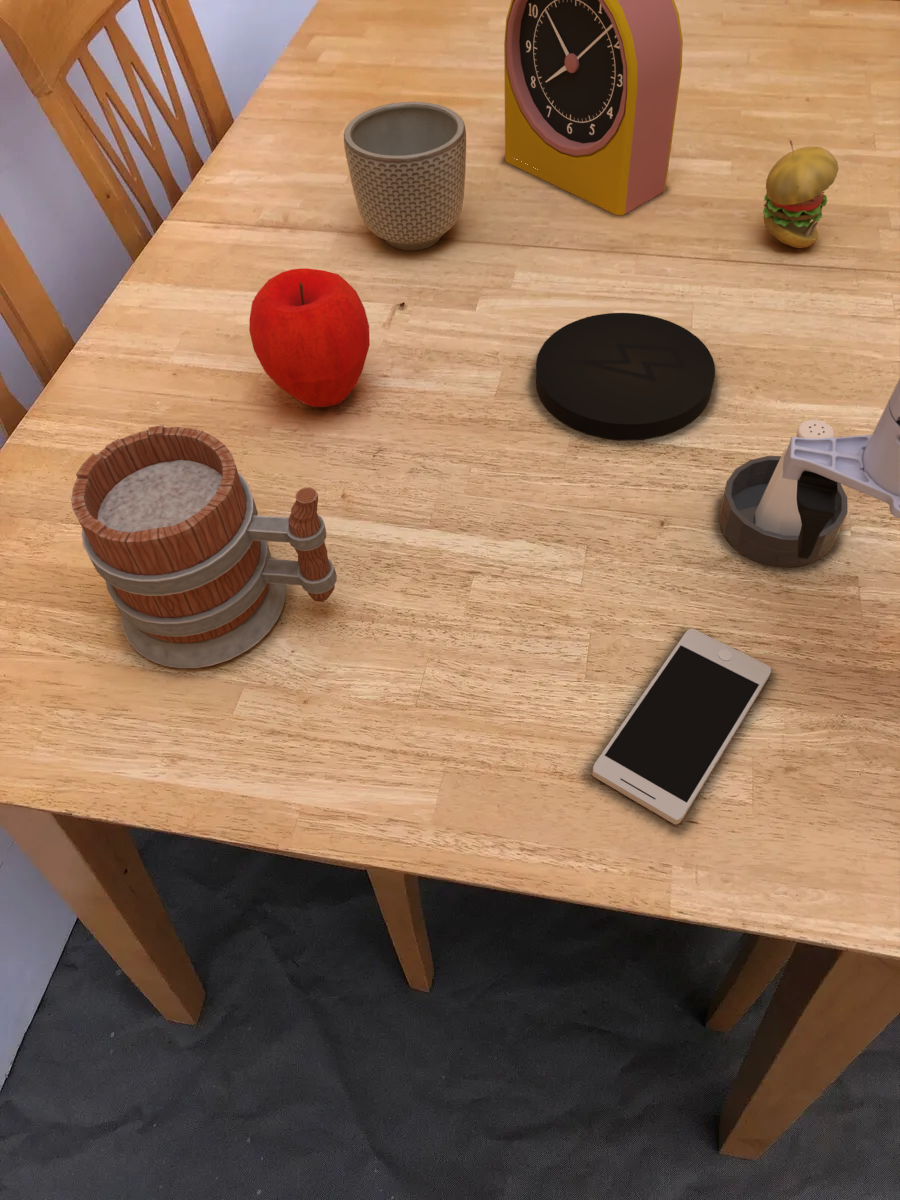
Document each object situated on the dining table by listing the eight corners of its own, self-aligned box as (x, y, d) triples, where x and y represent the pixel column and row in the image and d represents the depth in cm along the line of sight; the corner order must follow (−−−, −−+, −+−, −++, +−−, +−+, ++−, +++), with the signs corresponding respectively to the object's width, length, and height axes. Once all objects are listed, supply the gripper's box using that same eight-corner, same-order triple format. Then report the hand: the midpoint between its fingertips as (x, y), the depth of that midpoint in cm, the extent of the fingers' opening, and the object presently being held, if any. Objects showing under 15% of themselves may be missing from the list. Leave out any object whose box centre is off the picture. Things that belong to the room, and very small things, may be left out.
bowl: (836, 492, 84) (847, 463, 81) (835, 576, 78) (847, 548, 75) (723, 476, 85) (730, 448, 83) (714, 557, 80) (721, 530, 77)
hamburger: (824, 258, 106) (855, 154, 97) (761, 261, 106) (785, 158, 97) (808, 222, 111) (835, 120, 102) (747, 225, 111) (769, 124, 102)
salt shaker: (743, 534, 80) (770, 438, 72) (765, 495, 83) (794, 398, 74) (804, 557, 78) (840, 462, 70) (825, 516, 81) (862, 420, 72)
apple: (244, 393, 97) (211, 280, 86) (335, 345, 101) (314, 231, 90) (308, 450, 91) (281, 335, 80) (401, 396, 95) (388, 281, 85)
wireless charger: (508, 355, 98) (508, 339, 97) (657, 312, 102) (659, 296, 100) (582, 460, 88) (583, 445, 86) (746, 409, 91) (750, 393, 89)
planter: (487, 217, 116) (485, 110, 105) (440, 276, 108) (433, 167, 98) (389, 198, 120) (378, 93, 110) (337, 254, 112) (319, 147, 102)
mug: (154, 538, 84) (96, 411, 73) (360, 552, 82) (335, 422, 70) (99, 665, 76) (24, 544, 64) (327, 684, 74) (292, 561, 62)
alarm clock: (502, 160, 124) (500, -73, 104) (550, 136, 128) (557, -94, 107) (619, 216, 114) (643, -29, 93) (668, 188, 117) (701, -54, 97)
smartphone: (771, 673, 72) (774, 666, 71) (678, 827, 64) (679, 821, 64) (687, 632, 75) (689, 625, 74) (589, 775, 67) (590, 768, 67)
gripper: (810, 439, 53) (750, 581, 64) (1081, 483, 51) (971, 623, 62) (813, 361, 57) (757, 508, 68) (1064, 399, 55) (964, 544, 66)
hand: (858, 558), depth 65 cm, fingers open, 7 cm apart
